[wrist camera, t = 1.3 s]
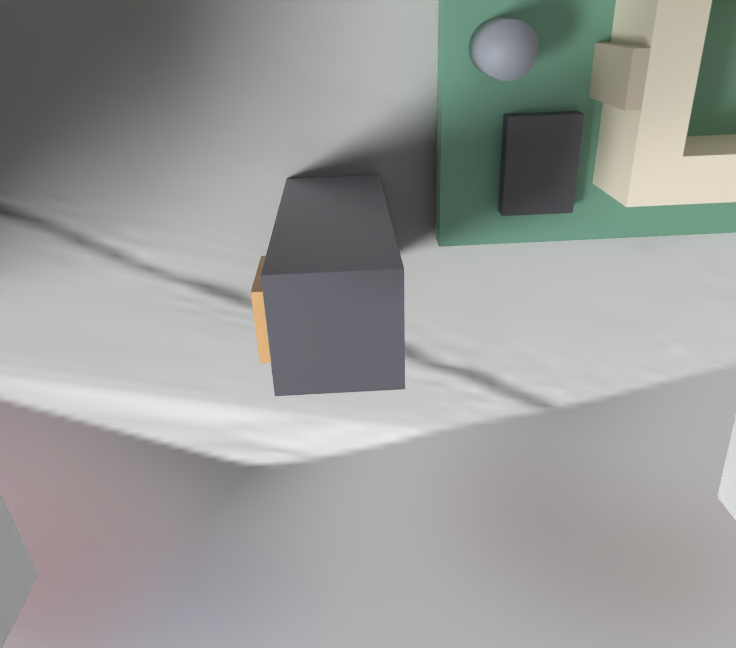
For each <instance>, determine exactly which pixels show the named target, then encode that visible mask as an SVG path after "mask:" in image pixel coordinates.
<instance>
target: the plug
mask: <svg viewBox="0 0 736 648" xmlns="http://www.w3.org/2000/svg"><path fill="white" fill-rule="evenodd" d="M251 298H252V305H253V313H254V321H255V329H256V337H257V345H258V352H259V360H260V363H266V362H271V366H272V375H273V383H274V392H275V396H286V395H304V394H323V393H341V392H360V391H378V390H397V389H405V347H404V267H403V263H402V260H401V256H400V252H399V248H398V244H397V240H396V237H395V233H394V229H393V225H392V221H391V218H390V214H389V210H388V206H387V202H386V199H385V195H384V191H383V187H382V183H381V180H380V176H379V174H372V175H350V176H328V177H305V178H287V180H286V184H285V187H284V191H283V195H282V199H281V202H280V206H279V210H278V213H277V217H276V221H275V224H274V228H273V232H272V236H271V239H270V243H269V247H268V250H267V254H266V256H261V259H260V262H259V266H258V269H257V273H256V276H255V280H254V283H253V287H252V290H251Z"/></svg>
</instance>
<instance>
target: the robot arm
mask: <svg viewBox="0 0 736 648" xmlns="http://www.w3.org/2000/svg"><path fill="white" fill-rule="evenodd" d="M718 498H719V499H720V501H721V502H722V503H723V505H724V506H725V507H726V508H727V510H728V511H729V512H730V514H731V515H732V516H733V517H734V519H735V520H736V416H735V420H734V425H733V429H732V434H731V439H730V443H729V447H728V452H727V457H726V461H725V466H724V470H723V475H722V479H721V484H720V489H719V493H718ZM37 576H38V572H37V570H36V568H35V566H34V564H33V561H32V559H31V557H30V555H29V553H28V551H27V549H26V546H25V544H24V542H23V540H22V538H21V536H20V534H19V531H18V529H17V527H16V525H15V523H14V521H13V518H12V516H11V514H10V512H9V510H8V508H7V506H6V504H5V501H4V499H3V497H2V495H1V493H0V648H2V647H3V645H4V643H5V641H6V639H7V637H8V634H9V633H10V631H11V629H12V627H13V625H14V623H15V621H16V619H17V617H18V615H19V612H20V611H21V608H22V607H23V604H24V602H25V600H26V598H27V596H28V594H29V592H30V590H31V588H32V586H33V584H34V582H35V580H36V578H37Z"/></svg>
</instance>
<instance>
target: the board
mask: <svg viewBox="0 0 736 648" xmlns="http://www.w3.org/2000/svg"><path fill="white" fill-rule="evenodd" d="M732 232H736V0H439V41H438V104H437V168H436V232H435V238H436V240H437V242H438V245H439V246H459V245H480V244H501V243H522V242H543V241H564V240H585V239H606V238H627V237H648V236H669V235H690V234H711V233H732Z"/></svg>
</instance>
